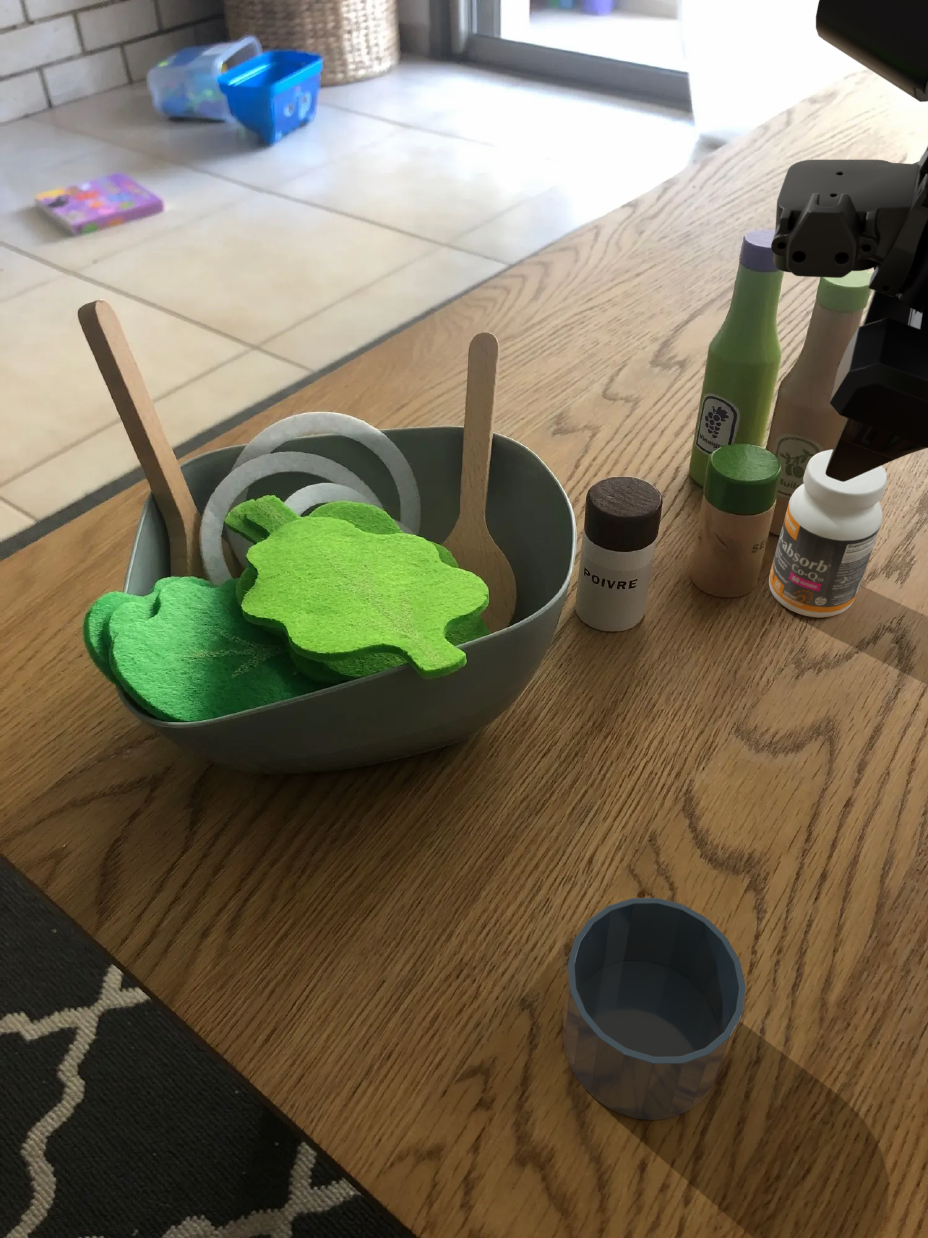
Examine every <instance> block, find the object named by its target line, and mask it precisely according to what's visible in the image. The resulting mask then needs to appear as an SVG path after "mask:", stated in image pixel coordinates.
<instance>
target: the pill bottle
mask: <svg viewBox="0 0 928 1238" xmlns="http://www.w3.org/2000/svg"><path fill="white" fill-rule="evenodd" d="M832 451H833V449H827V450H823V451H819V452H817V453H816V454H814V455H813V456H812V457H811V458H810V459H809V461H808V462H807V464H806V467H805V471H804V474H803V479H802V481H803V483H802V484H800V485H799V486H798V487H797V488H796V489H795V490H794V492H792V494H791V496H790V497H789V500H788V503H787V509H786V512H785V515H784V519H783V523H782V527H781V530H780V532H779V538H778V541H777V545H776V549H775V552H774V557H773V560H772V564H771V567H770V571H769V578H768V585H769V590H770V592H771V594H772V596H773V597H774V598H775V600H776V601H777V602H778V603H779V604H780V605H782V606H783V607H785V608H786V609H788V610H789V611H791V612H794V613H796V614H798V615H801V616H805V617H810V618H830V617H834V616H838V615H840V614H842V613H844V612H845V611H846V610H849V608H850V607H851V606H852V605H853V603H854V602H855V600H856V598H857V595H858V592H859V590H860V587H861V584H862V581H863V578H864V575H865V572H866V569H867V567H868V563H869V561H870V558H871V556H872V552H873V550H874V547H875V544H876V540H877V537H878V534H879V531H880V529H881V527H882V522H883V508H882V505H881V502H880V501H881V500H882V498H883V496H884V493H885V490H886V486H887V482H888V474H887V471H886V470H885V468H884V467H883V466H884V465H882V466H879V467H877V468H875V469H873V470H870V471H868V472H866V473H863V474H861V475H859V476H857V477H854V478H852V479H850V480H848V481H845V482H841V481H838V480H836V479H833V478H830V477H828V476H827V475H826V474H825V472H826V468H827V465H828V463H829V460H830V457H831V454H832Z"/></svg>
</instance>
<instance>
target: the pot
mask: <svg viewBox="0 0 928 1238" xmlns="http://www.w3.org/2000/svg"><path fill="white" fill-rule="evenodd" d="M569 954H570V955H569V958H568V961H567V970H566V971H567V972H566V980H565V990H564V999H563V1000H564V1001H563V1011H562V1042H563V1048H564V1053H565V1056H566V1060H567V1062H568V1064H569V1066H570V1068H571V1071H572V1073H573V1074H574V1075H575V1078H576V1079H577V1081H578V1082H579V1083H580V1084H581V1086H582V1087H583V1088H584V1089H585V1090H586V1091H587V1092H588V1094H589V1095H590V1096H591V1097H592V1098H593V1099H595V1100H596V1101H598V1103H600V1104H601V1105H603V1106H605V1107H606V1108H607V1109H609V1110H611V1111H613V1112H615V1113H618V1114H620V1115H622V1116H625V1117H629V1118H632V1119H638V1120H643V1121H645V1120H647V1121H657V1120H667V1119H670V1118H675V1117H677V1116H681V1115H682V1114H685V1113H687V1112H688V1111H690V1110H692V1109H694V1108H695V1107H696V1106H698V1105H699V1104H700V1103H702V1102H703V1100H704V1099H705V1098H706V1097H707V1096H708V1095H709V1094H710V1092H711V1090H712V1089H713V1088H714V1086H715V1084H716V1082H717V1080H718V1078H719V1075H720V1073H721V1071H722V1069H723V1068H724V1065H725V1062H726V1059H727V1057H728V1054H729V1051H730V1049H731V1046H732V1043H733V1040H734V1037H735V1036H736V1032H737V1030H738V1028H739V1024H740V1022H741V1019H742V1016H743V1014H744V1008H745V1007H744V1006H745V999H746V991H747V987H746V986H747V985H746V982H745V977H744V972H743V968H742V963H741V960H740V958H739V957H738V955H737V953H736V951H735V950H734V947H733V946H732V944H731V943H730V941H729V939H728V938H727V936H726V935H725V934H724V933H723V932H722V931H721V930H720V929H719V927H717V926H716V925H715V924H714V923H713V922H712V921H711V920H710V919H709V918H707V917H705V916H704V915H702V914H701V913H699V912H698V911H695V910H693V909H691V908H690V907H689V906H687V905H686V904H685V905H684V904H682V903H678V902H676V901H675V902H674V901H671V900H667V899H664V898H658V897H633V898H627V899H624V900H622V901H619V902H615V903H613V904H609V905H606V906H605V907H604V908H603V909H601V910H600V911H598V912H597V913H596V914H594V915H593V916H591V917H590V918H589V919H588V920H587V921H586V922H585V924H584V925H583V926H582V928H581V930H579V932H578V934H577V935H576V937H575V938H574V941H573V943H572V947H571V950H570V953H569Z"/></svg>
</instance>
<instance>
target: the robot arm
mask: <svg viewBox="0 0 928 1238" xmlns="http://www.w3.org/2000/svg"><path fill="white" fill-rule="evenodd" d="M815 30H816V34H817V36H818V37H819V38H820V39H822V40H823V41H825V42H826V43H828V44H829V45H831V46H832V47H834V48H835V49H837V50H838V51H840V52H842V53H843V54H845V55H847V56H848V57H849V58H851V59H853V60H854V61H856V62H857V63H859V64H860V65H862V66H864V67H865V68H866V69H868V70H870V71H871V72H872V73H873V74H876V75H878V76H879V77H881V78H882V79H883V80H885V81H887V82H889V83H890V84H891V85H893V86H894V87H896V88H897V89H899V90H901V91H902V92H904V93H905V94H907V95H909V96H910V97H912V98H913V99H915V100H916V101H918V102H919V103H927V102H928V0H818V3H817V8H816V14H815ZM775 212H776V214H775V229H774V234H773V238H772V241H771V244H770V249H771V251H772V252H773V260H772V261H773V265H774V267H775V268H776V269H777V270H779V271H782V272H785V273H791V274H793V276H795V277H808V278H828V279H829V278H830V279H831V278H832V279H843V278H844V277H847V276H848V275H849V274H850V273H852V272H863V271H868V270H871V269H873V273H872V274H871V276H870V279H869V283H868V289H869V290H872V291H873V292H872V295H871V299H870V302H869V305H868V308H867V311H866V314H865V317H864V320H863V323H862V325H859V326H858V328H857V329H856V330H855V332H854V334H853V336H852V337H851V339H850V341H849V342H848V344H847V345H846V348H845V351H844V353H843V355H842V357H841V360H840V361H838V363H837V367H836V371H835V376H834V380H833V384H832V387H831V393H830V394H831V395H830V399H829V404H830V405H831V406H832V407H833V409H834V410H835V411H836V413H837V414H838V416H841V417H843V418H844V420H843V423H842V425H841V428H840V430H839V433H838V436H837V438H836V441H835V444H834V446H833V449H832V450H833V451H832V454H831V457H830V460H829V463H828V465H827V468H826V472H825V474H826V475H827V476H828V477H830V478H833V479H836V480H838V481H841V482H845V481H848V480H850V479H852V478H854V477H857V476H859V475H861V474H863V473H866V472H868V471H870V470H873V469H875V468H877V467H879V466H884V465H886V464H889V463H891V462H893V461H896V460H898V459H900V458H902V457H905V456H907V455H911V454H913V453H917V452H920V451H922V450H925V449H928V146H927V147H926V149H925V151H924V152H923V154H922V155H921V157H920V159H919V161H916V162H914V163H905V162H903V163H902V162H891V161H889V160H884V159H805V160H800V161H797V162H795V163H792V164H791V165H790V166H789V167H788V169H787V171H786V174H785V177H784V179H783V183H782V185H781V188H780V191H779V194H778V197H777V199H776V211H775Z"/></svg>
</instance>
